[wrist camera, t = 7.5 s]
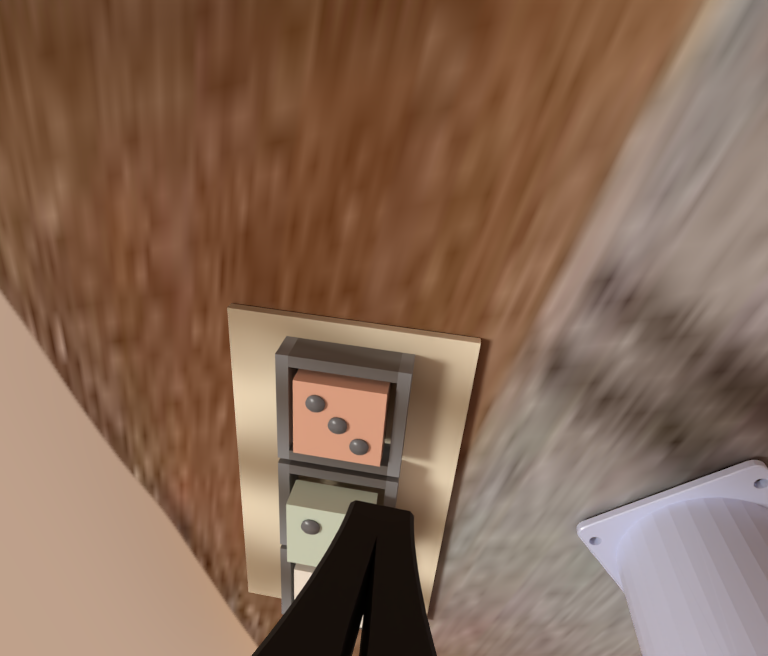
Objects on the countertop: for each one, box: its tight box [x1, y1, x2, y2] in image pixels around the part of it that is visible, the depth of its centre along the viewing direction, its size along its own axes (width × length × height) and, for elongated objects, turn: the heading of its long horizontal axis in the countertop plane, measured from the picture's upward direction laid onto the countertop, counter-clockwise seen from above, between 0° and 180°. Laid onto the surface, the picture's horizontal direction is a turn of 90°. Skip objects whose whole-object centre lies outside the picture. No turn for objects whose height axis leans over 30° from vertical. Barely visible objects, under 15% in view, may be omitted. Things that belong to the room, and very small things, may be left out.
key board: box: [227, 303, 481, 629], centre depth 24 cm, size 18×10×2 cm, turn 175°
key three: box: [293, 369, 391, 467], centre depth 21 cm, size 4×4×2 cm
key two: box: [286, 480, 378, 567], centre depth 23 cm, size 4×4×2 cm
